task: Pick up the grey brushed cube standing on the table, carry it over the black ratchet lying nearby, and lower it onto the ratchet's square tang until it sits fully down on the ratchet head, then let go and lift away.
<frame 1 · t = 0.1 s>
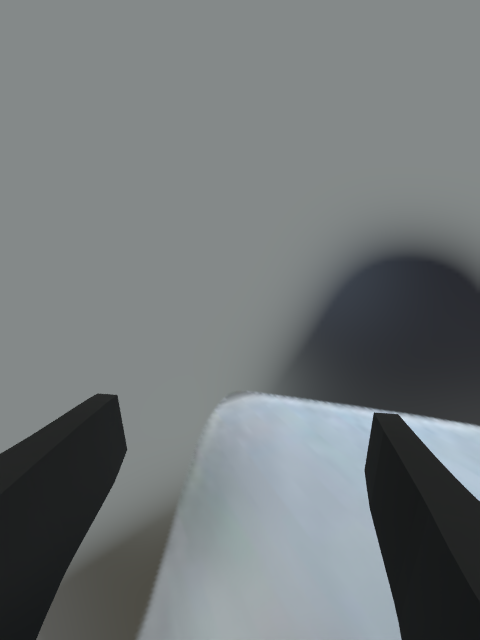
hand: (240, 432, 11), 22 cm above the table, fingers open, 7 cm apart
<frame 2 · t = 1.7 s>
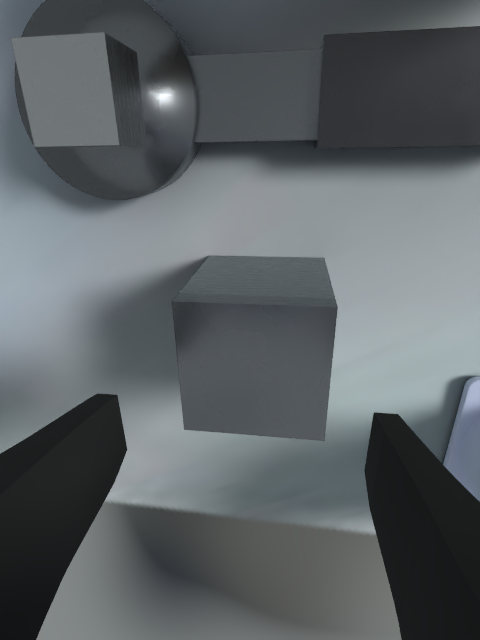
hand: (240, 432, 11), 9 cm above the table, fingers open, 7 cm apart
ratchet: (125, 107, 16), on the table
grey brushed cube: (264, 309, 19), on the table
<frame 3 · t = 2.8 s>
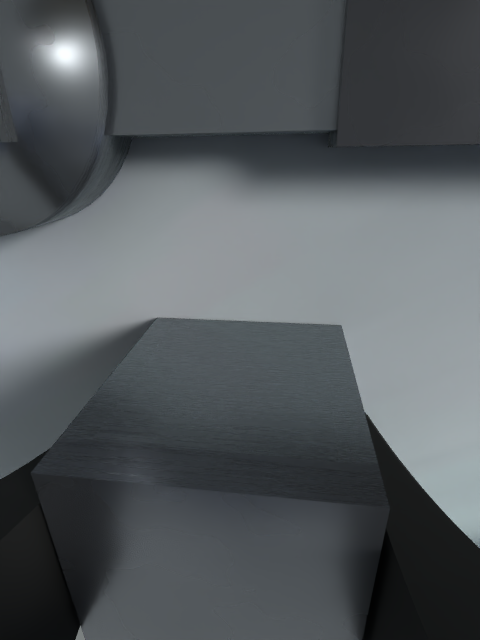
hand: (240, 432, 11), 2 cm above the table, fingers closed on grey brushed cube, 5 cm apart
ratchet: (0, 76, 9), on the table
grey brushed cube: (247, 398, 12), on the table, touching gripper
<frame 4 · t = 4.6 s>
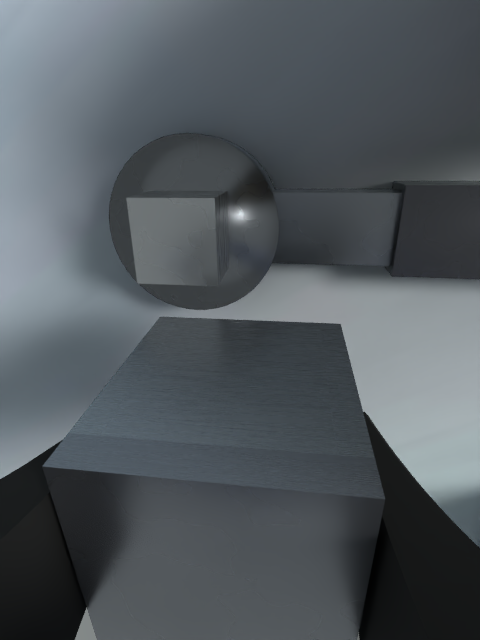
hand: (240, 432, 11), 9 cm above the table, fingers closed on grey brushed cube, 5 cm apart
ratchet: (203, 221, 17), on the table
grey brushed cube: (248, 395, 12), point 7 cm above the table, touching gripper
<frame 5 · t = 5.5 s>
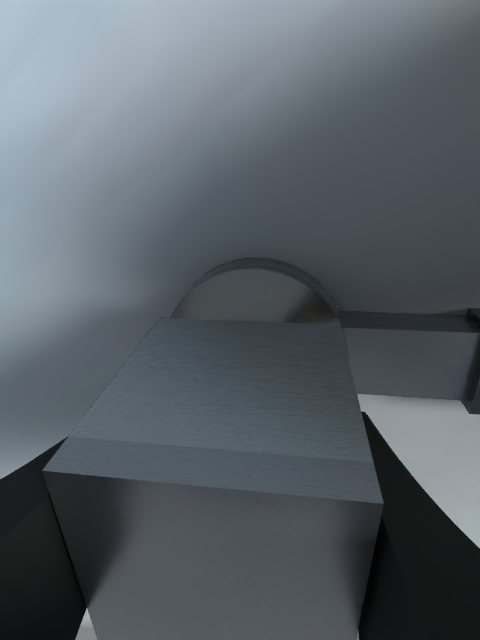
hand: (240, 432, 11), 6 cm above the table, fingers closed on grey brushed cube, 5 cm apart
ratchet: (257, 338, 16), on the table
grey brushed cube: (247, 395, 12), point 4 cm above the table, touching gripper
when the fingers open (4 cm above the table, at t = 6.4 s): grey brushed cube stays where it is, resting on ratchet.
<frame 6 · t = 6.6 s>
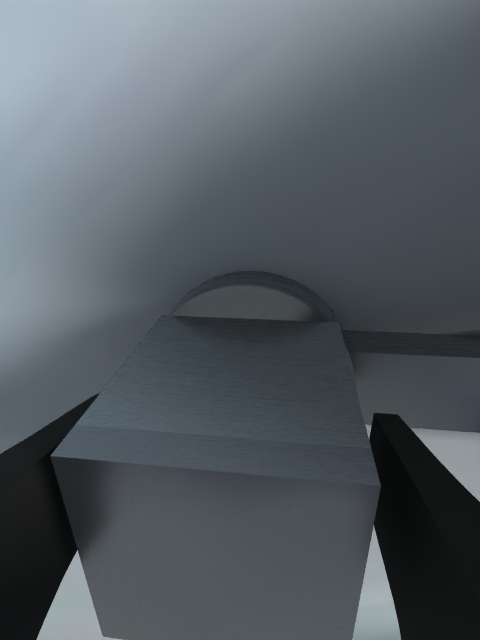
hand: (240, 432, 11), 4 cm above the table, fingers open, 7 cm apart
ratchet: (252, 359, 14), on the table, touching grey brushed cube
grey brushed cube: (248, 392, 13), point 2 cm above the table, touching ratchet
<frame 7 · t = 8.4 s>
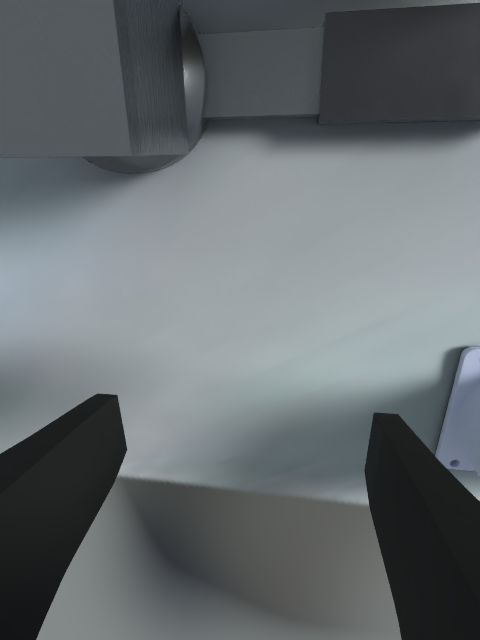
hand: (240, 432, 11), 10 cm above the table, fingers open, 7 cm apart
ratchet: (137, 86, 17), on the table, touching grey brushed cube
grey brushed cube: (118, 80, 15), point 2 cm above the table, touching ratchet
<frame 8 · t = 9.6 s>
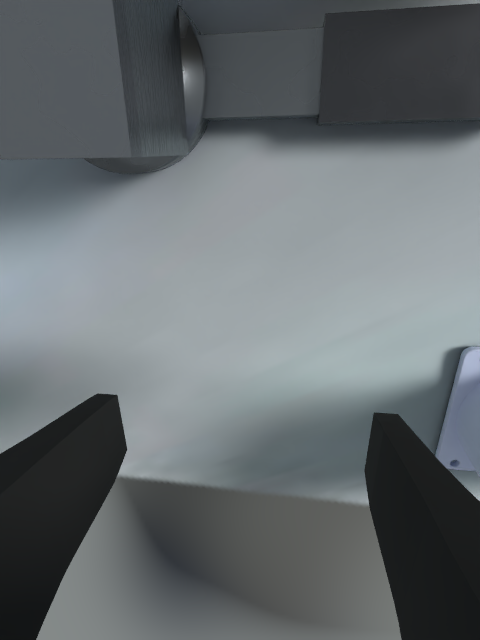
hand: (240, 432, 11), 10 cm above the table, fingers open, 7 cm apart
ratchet: (137, 87, 17), on the table
grey brushed cube: (117, 82, 15), point 2 cm above the table
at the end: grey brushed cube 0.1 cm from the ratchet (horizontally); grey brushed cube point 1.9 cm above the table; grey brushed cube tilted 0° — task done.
